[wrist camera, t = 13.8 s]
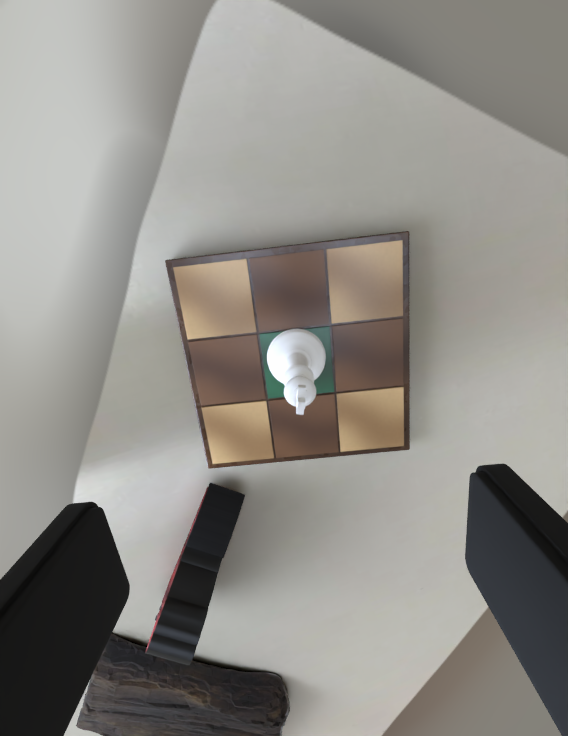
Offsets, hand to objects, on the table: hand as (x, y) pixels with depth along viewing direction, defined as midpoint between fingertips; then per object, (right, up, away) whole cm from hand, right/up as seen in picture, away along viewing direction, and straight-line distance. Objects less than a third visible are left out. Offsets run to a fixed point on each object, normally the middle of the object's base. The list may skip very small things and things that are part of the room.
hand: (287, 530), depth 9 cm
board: (+1, +5, +21) cm, 22 cm away
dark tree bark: (-12, -38, +35) cm, 53 cm away
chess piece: (+1, +5, +20) cm, 21 cm away
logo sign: (-9, -14, +28) cm, 32 cm away
